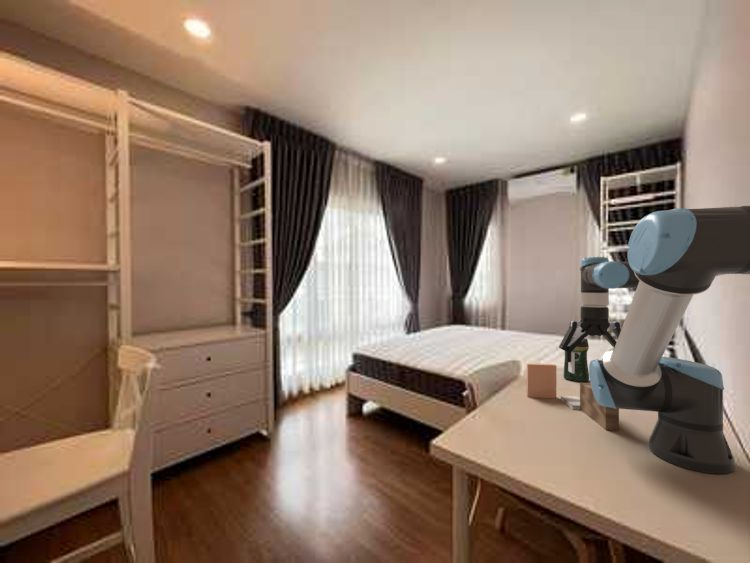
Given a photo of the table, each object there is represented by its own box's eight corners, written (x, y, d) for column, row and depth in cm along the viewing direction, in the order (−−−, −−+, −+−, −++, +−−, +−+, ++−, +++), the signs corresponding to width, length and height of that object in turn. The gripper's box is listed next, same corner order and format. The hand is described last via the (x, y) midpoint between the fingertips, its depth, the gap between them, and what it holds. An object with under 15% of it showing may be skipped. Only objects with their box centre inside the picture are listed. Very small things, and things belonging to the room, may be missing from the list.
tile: (556, 398, 126) (556, 365, 126) (527, 396, 127) (527, 364, 127) (554, 396, 127) (554, 364, 127) (526, 395, 128) (526, 363, 129)
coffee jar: (590, 379, 149) (590, 337, 149) (586, 383, 144) (586, 339, 144) (566, 375, 156) (566, 335, 156) (561, 379, 150) (561, 337, 150)
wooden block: (627, 431, 97) (627, 399, 97) (597, 429, 98) (597, 398, 99) (584, 400, 123) (584, 375, 123) (560, 399, 124) (560, 374, 124)
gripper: (630, 305, 110) (630, 371, 110) (548, 304, 114) (548, 368, 114) (645, 307, 103) (645, 377, 103) (557, 306, 106) (557, 374, 106)
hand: (594, 373), depth 108 cm, fingers open, 13 cm apart
